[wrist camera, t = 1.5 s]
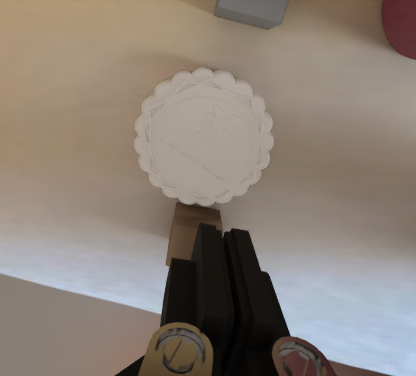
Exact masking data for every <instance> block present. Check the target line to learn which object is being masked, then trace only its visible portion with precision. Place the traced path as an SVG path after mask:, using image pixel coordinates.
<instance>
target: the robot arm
mask: <svg viewBox="0 0 416 376" xmlns="http://www.w3.org/2000/svg"><path fill="white" fill-rule="evenodd" d="M115 376H337V375H336V374H335V372H334V370H333V368H332V367H331V365H330V363H329V362H328V360H327V359H326V358H325V356H324V355H323V353H321V352H320V351H319V350H318V349H317V348H316V347H315V346H314V345H312V344H310V343H309V342H307V341H305V340H303V339H300V338H298V337H291V336H290V333H289V330H288V327H287V324H286V322H285V319H284V316H283V313H282V310H281V307H280V304H279V302H278V299H277V296H276V293H275V290H274V287H273V285H272V282H271V279H270V276H269V274H268V273H267V272H263V271H261V269H260V266H259V263H258V259H257V256H256V253H255V250H254V247H253V244H252V241H251V238H250V234H249V232H248V231H246V230H240V229H234V228H232V229H231V231H230V232H227V231H226V232H225V233H224V236H223V238H222V232H221V230H217V229H216V225H211V224H205V223H199V226H198V230H197V234H196V238H195V242H194V247H193V251H192V255H191V259H190V260H186V259H179V258H173V257H172V258H171V262H170V267H169V272H168V276H167V282H166V287H165V293H164V300H163V307H162V315H161V324H160V328H159V329H158V330H157V331H156V332H155V333H154V334H153V336H152V338H151V340H150V341H149V345H148V347H147V350H146V353H145V355H144V356H142V357H141V358H140V359H138V360H137V361H135V362H134V363H132V364H131V365H130V366H128V367H127V368H125V369H124V370H122V371H121V372H120V373H118V374H117V375H115Z"/></svg>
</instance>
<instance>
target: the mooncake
mask: <svg viewBox="0 0 416 376" xmlns="http://www.w3.org/2000/svg"><path fill="white" fill-rule="evenodd" d="M141 111H142V114H141V115H140V116H139V117H138V118H137V119H136V121H135V131H136V133H137V134H138V135H137V136H136V138H135V140H134V148H135V150H136V152H137V153H138V154H139V155H140V157H139V166H140V168H141V169H142V170H143V171H144V172H146V173H149V174H148V178H149V181H150V183H151V184H152V185H153V186H155V187H158V188H162V191H163V193H164V194H165V195H166V196H167V197H169V198H179V200H180V201H181V202H182V203H184V204H187V205H191V204H194V203H196V202H197V203H198V204H199V205H201V206H205V207H206V206H210V205H212V204H214V203H215V202H217V203H220V204H224V203H227V202H229V201H230V200H231V199H232V197H233V196H241V195H243V194H245V193H246V192H247V190H248V188H249V185H253V184H255V183H257V182H258V181H259V180H260V178H261V174H262V172H261V170H262V169H264V168H266V167H267V166H268V164H269V163H270V154H269V151H270V150H271V149H272V147H273V145H274V137H273V135H272V133H271V132H270V130H271V129H272V126H273V120H272V117H271V116H270V115H269V114H268V113H267V112H265V101H264V99H263V98H262V97H261V96H259V95H258V94H256V93H254V92H253V90H252V87H251V85H250V84H249V83H248V82H246V81H244V80H242V79H239V78H234V76H233V75H232V74H231V73H230V72H228V71H225V70H216V71H214V72H212V71H211V70H210V69H208V68H206V67H199V68H197V69H195V70H194V71H193V72H192V73H191V72H190V71H186V70H183V71H180V72H178V73H176V74H175V75H174V76H173V78H172V80H170V79H168V80H164V81H162V82H161V83H159V84H158V85H157V86H156V88H155V90H154V94H152V95H150V96H149V97H147V98H146V99H145V100H144V101H143V103H142V106H141Z"/></svg>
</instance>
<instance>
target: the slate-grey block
mask: <svg viewBox="0 0 416 376" xmlns="http://www.w3.org/2000/svg"><path fill="white" fill-rule="evenodd" d="M287 4H288V0H217V5H216V10H215V15H214V16H217V17H220V18H224V19H228V20H232V21H236V22H239V23H243V24H247V25H251V26H255V27H259V28H262V29H266V30H268V29H271V28H273V27H275V26H278V25H280V24H282V21H283V18H284V14H285V11H286V7H287Z"/></svg>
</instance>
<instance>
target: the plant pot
mask: <svg viewBox="0 0 416 376" xmlns="http://www.w3.org/2000/svg"><path fill="white" fill-rule="evenodd" d="M382 22H383V27H384V31H385V34H386V36H387V38H388V40H389V42H390V43H391V45H392V46H393V47H394V48H395V49H396V50H397V51H398V52H399V53H401V54H402V55H404V56H406V57H408V58H411V59H414V60H416V0H383V3H382Z"/></svg>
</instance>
